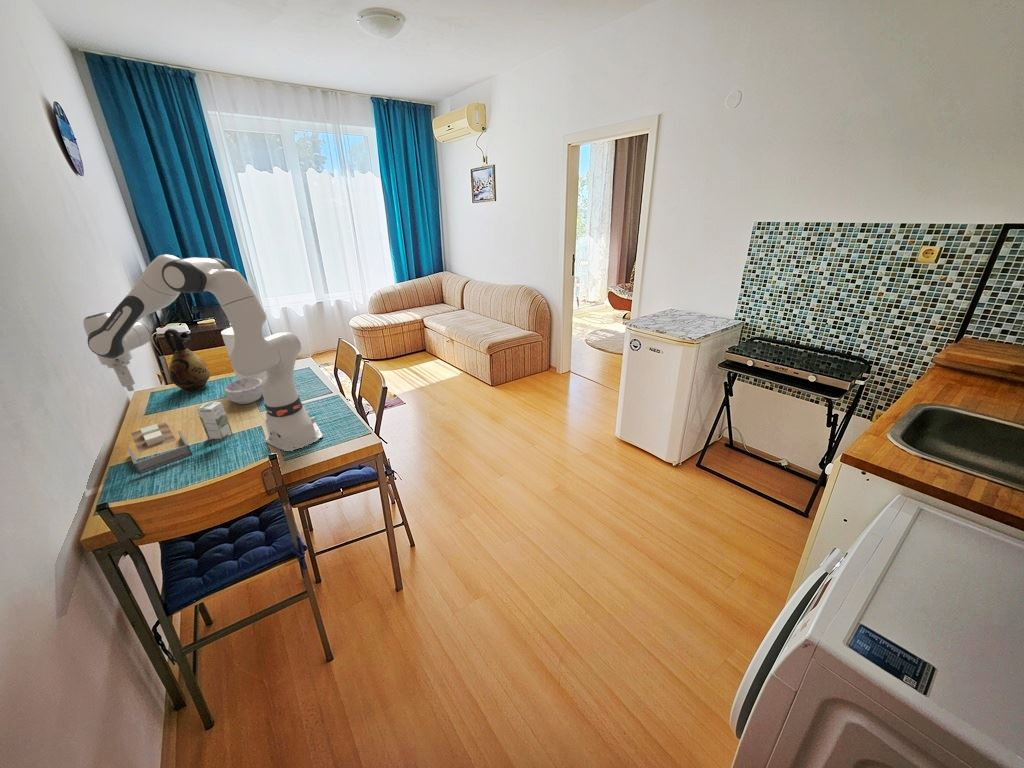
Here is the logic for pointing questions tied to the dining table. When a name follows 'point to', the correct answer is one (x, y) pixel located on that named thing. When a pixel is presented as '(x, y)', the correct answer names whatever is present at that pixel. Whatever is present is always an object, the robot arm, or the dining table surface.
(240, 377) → the cylinder
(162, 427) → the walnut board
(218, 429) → the syrup box
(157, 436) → the cream tile
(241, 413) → the dining table surface
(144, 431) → the sage tile
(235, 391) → the white purple floral bowl
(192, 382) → the ceramic jug
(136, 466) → the grey bin
